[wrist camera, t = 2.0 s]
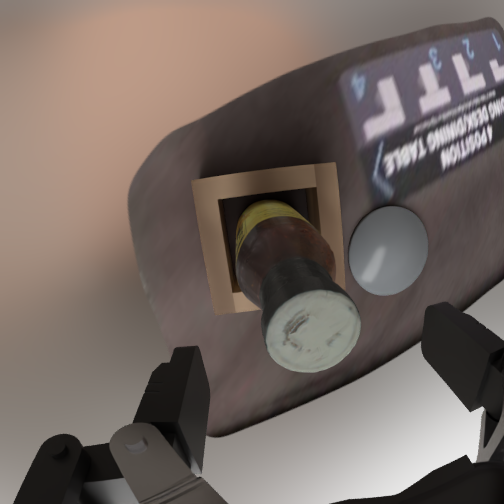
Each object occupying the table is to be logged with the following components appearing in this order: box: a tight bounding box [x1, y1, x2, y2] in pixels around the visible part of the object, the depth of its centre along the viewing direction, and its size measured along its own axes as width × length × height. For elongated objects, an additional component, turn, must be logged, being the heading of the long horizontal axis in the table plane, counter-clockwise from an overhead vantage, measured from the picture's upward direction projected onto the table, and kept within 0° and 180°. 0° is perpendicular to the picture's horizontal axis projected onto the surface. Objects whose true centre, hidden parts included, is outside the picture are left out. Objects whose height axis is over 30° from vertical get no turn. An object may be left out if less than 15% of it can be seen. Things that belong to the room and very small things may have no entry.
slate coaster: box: [348, 206, 428, 295], centre depth 31 cm, size 10×10×1 cm
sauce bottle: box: [235, 199, 361, 372], centre depth 21 cm, size 6×6×20 cm
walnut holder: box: [191, 162, 345, 315], centre depth 28 cm, size 12×12×5 cm
